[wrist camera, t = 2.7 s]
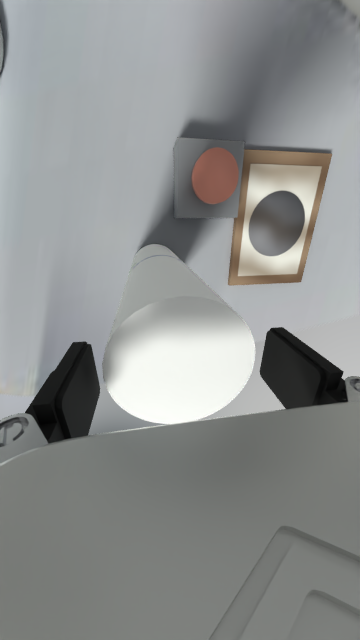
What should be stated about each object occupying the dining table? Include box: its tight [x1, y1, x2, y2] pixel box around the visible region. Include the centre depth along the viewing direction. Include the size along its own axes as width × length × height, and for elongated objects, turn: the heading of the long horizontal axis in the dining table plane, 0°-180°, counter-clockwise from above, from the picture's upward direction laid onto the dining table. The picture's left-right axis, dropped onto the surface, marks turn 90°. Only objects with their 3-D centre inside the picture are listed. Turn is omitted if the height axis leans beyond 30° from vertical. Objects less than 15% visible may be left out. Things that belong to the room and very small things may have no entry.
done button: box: [191, 147, 239, 204], centre depth 25 cm, size 5×5×4 cm
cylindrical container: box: [102, 244, 255, 424], centre depth 21 cm, size 7×7×25 cm
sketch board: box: [228, 149, 332, 285], centre depth 32 cm, size 18×13×1 cm
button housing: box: [173, 137, 245, 218], centre depth 27 cm, size 8×8×4 cm
